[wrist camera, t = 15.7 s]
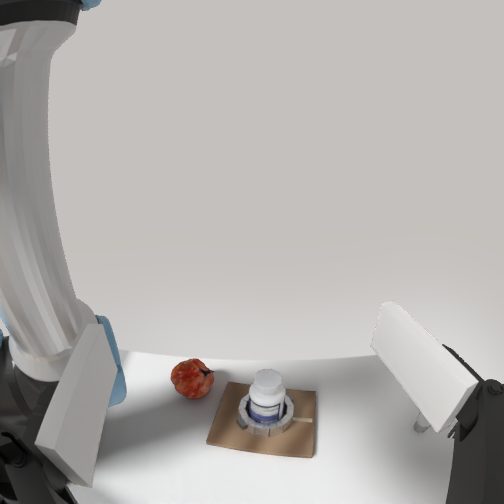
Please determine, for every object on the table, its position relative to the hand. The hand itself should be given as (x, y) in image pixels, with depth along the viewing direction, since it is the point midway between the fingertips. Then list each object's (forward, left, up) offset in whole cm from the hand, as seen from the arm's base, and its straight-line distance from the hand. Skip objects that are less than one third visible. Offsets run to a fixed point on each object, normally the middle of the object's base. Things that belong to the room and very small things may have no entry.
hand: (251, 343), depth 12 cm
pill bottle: (-1, +19, -31) cm, 36 cm away
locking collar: (-1, +19, -32) cm, 37 cm away
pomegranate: (-15, +23, -32) cm, 42 cm away
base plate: (-1, +19, -32) cm, 37 cm away
